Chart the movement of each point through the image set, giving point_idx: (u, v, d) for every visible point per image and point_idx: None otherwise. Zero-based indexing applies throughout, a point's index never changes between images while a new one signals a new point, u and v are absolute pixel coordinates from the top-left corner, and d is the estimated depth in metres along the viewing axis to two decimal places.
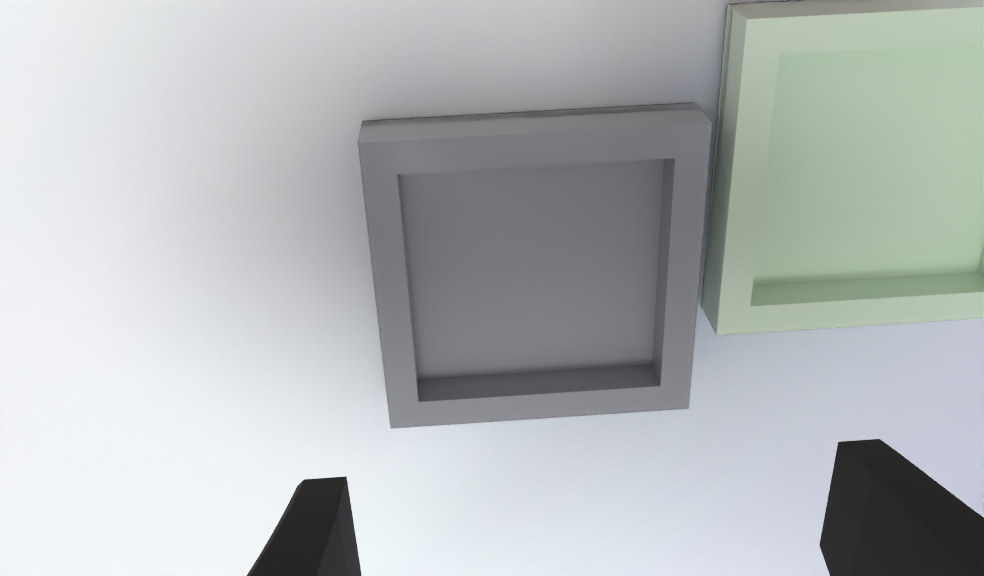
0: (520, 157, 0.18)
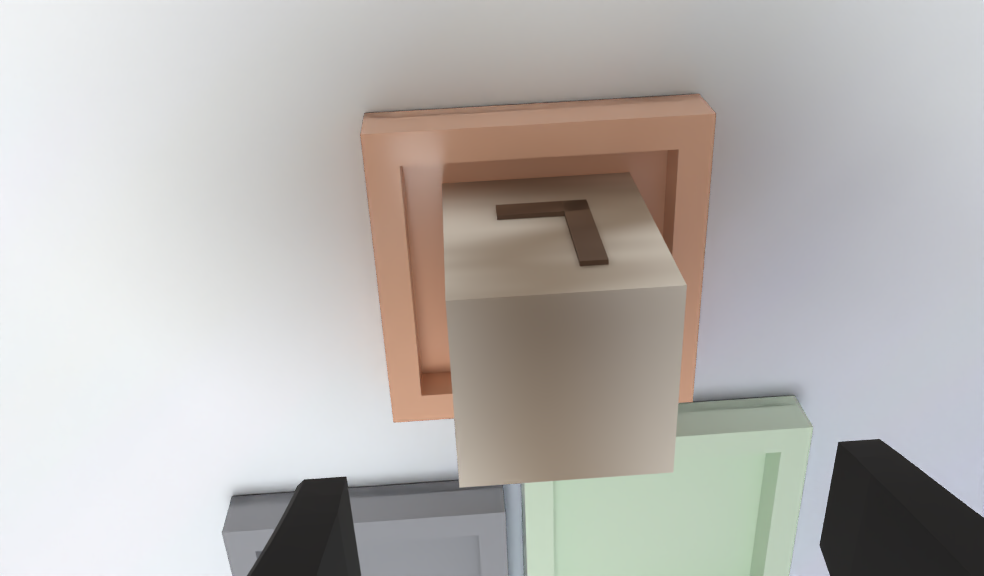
0: None
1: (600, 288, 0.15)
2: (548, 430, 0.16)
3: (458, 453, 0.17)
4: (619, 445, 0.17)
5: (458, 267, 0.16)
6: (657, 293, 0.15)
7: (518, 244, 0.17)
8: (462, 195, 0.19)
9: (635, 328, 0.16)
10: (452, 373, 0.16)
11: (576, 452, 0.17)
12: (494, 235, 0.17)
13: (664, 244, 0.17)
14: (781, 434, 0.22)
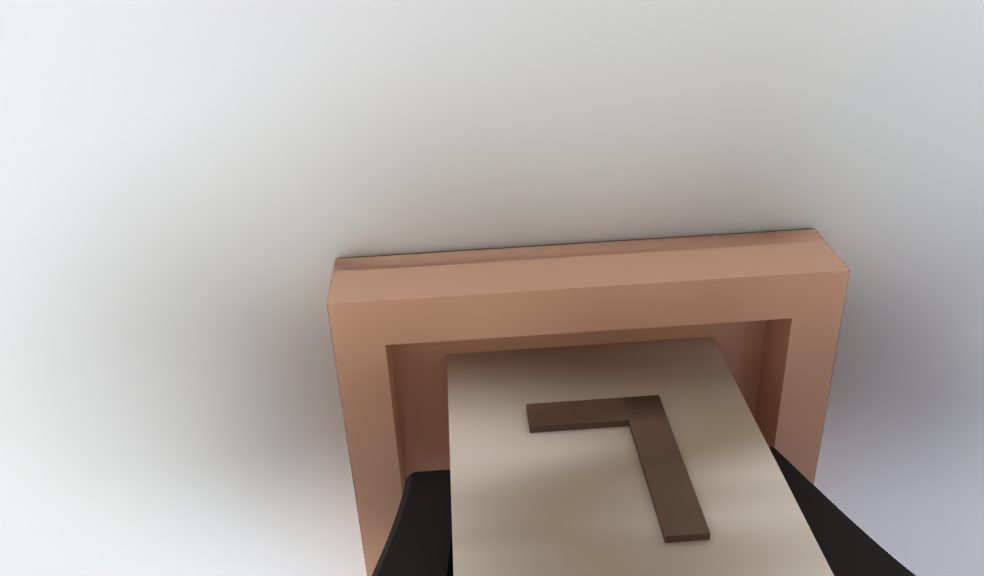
0: None
1: None
2: None
3: None
4: None
5: (474, 542, 0.10)
6: None
7: (564, 488, 0.11)
8: (476, 379, 0.13)
9: None
10: None
11: None
12: (526, 468, 0.11)
13: (790, 494, 0.11)
14: None
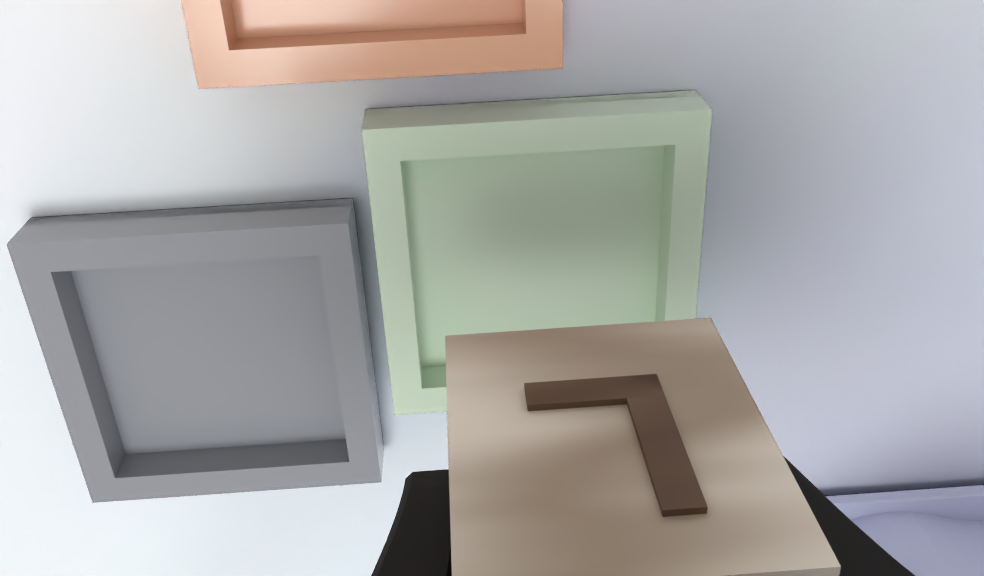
0: (168, 255, 0.19)
1: (702, 571, 0.09)
2: None
3: None
4: None
5: (471, 515, 0.10)
6: None
7: (561, 465, 0.11)
8: (474, 359, 0.13)
9: None
10: None
11: None
12: (525, 445, 0.11)
13: (787, 469, 0.11)
14: (674, 119, 0.18)
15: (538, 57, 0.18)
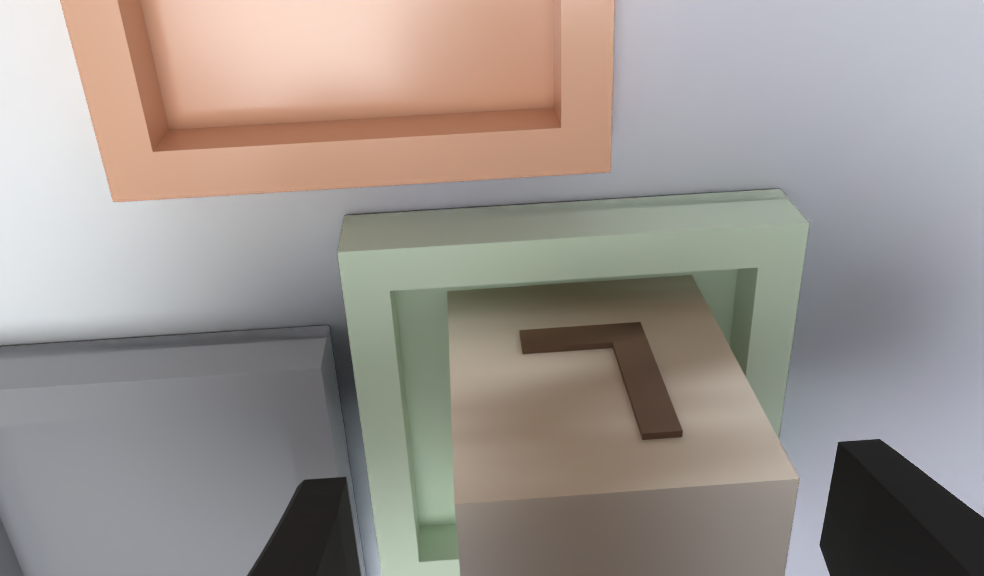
0: (82, 410, 0.14)
1: (676, 482, 0.11)
2: None
3: None
4: None
5: (471, 440, 0.11)
6: (757, 489, 0.11)
7: (552, 398, 0.12)
8: (474, 311, 0.14)
9: (723, 535, 0.11)
10: None
11: None
12: (519, 383, 0.13)
13: (756, 400, 0.12)
14: (758, 235, 0.14)
15: (577, 158, 0.13)
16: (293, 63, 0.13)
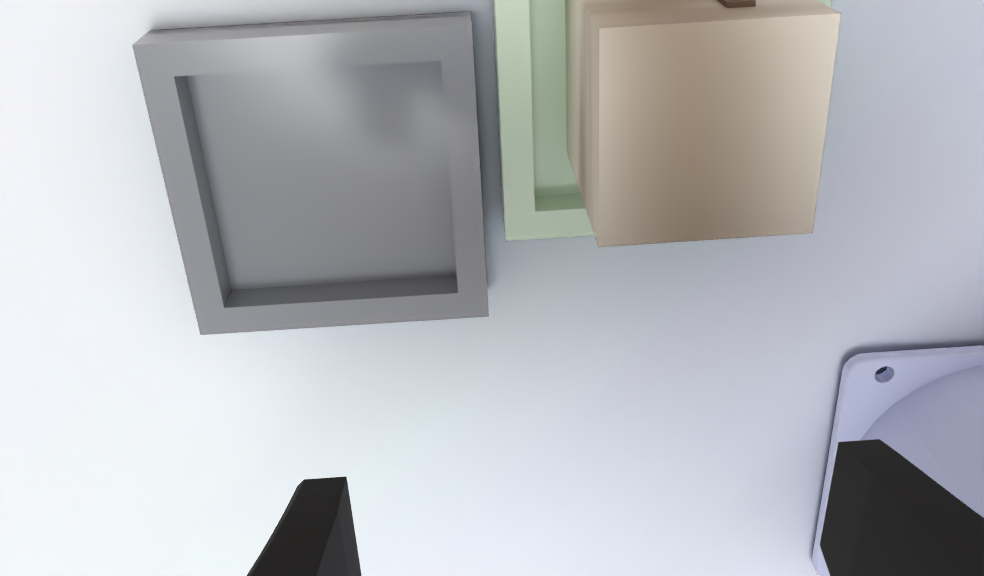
0: (291, 59, 0.19)
1: (754, 17, 0.15)
2: (691, 182, 0.16)
3: (600, 206, 0.17)
4: (760, 201, 0.17)
5: (603, 12, 0.16)
6: (810, 22, 0.15)
7: (658, 0, 0.17)
8: None
9: (786, 64, 0.15)
10: (600, 113, 0.16)
11: (717, 207, 0.17)
12: None
13: None
14: None
15: None
16: None
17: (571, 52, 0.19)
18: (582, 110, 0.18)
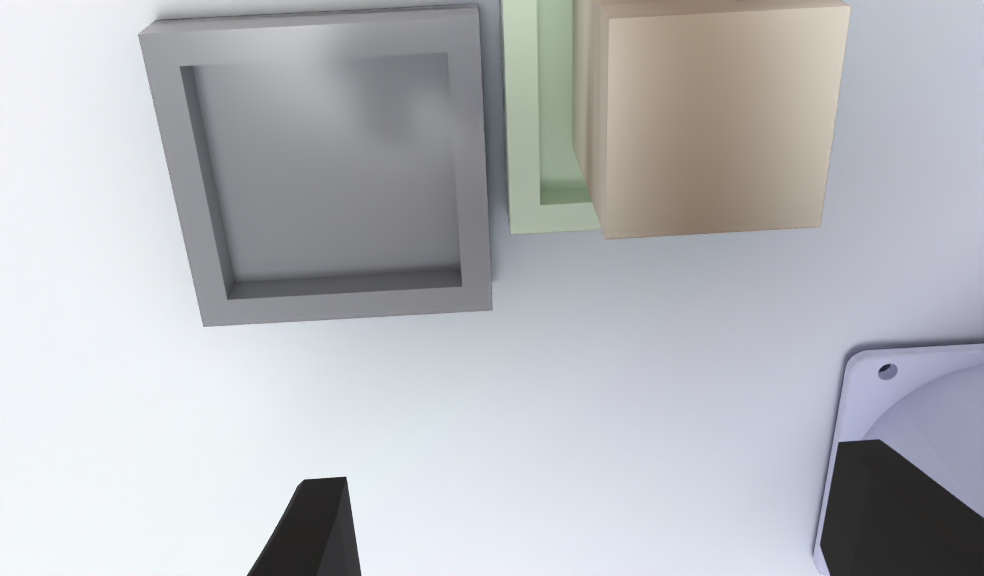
0: (297, 50, 0.19)
1: (763, 9, 0.15)
2: (699, 174, 0.16)
3: (607, 199, 0.17)
4: (768, 194, 0.17)
5: (612, 4, 0.16)
6: (821, 14, 0.15)
7: None
8: None
9: (795, 56, 0.15)
10: (609, 104, 0.16)
11: (725, 200, 0.17)
12: None
13: None
14: None
15: None
16: None
17: (578, 45, 0.19)
18: (589, 102, 0.18)
